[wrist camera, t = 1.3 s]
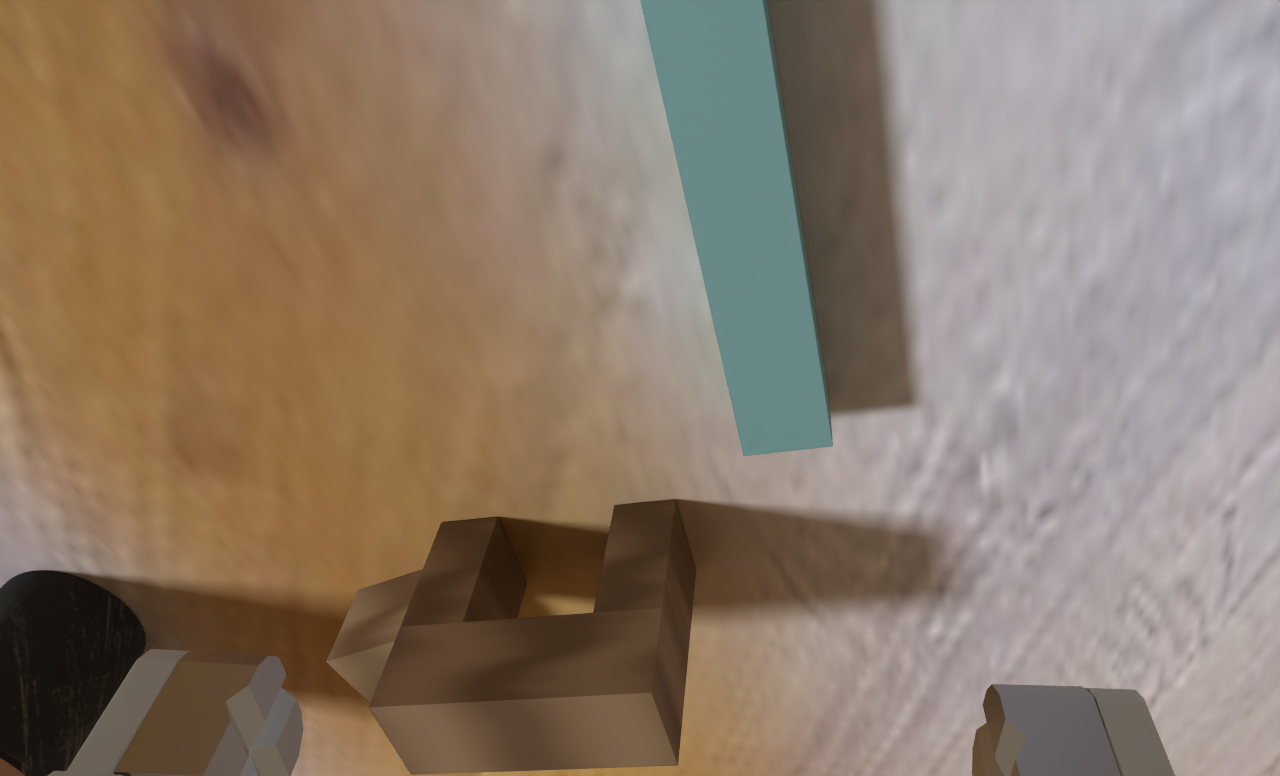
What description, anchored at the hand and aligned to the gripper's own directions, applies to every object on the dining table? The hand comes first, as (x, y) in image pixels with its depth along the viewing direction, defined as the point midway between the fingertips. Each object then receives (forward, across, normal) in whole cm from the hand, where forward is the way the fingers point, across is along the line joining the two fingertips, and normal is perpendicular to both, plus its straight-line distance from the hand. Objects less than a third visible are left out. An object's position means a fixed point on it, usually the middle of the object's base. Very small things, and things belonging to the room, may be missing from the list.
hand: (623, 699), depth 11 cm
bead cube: (+22, +13, +24) cm, 35 cm away
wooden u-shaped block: (+22, +6, +19) cm, 29 cm away
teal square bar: (+22, -1, +1) cm, 22 cm away
